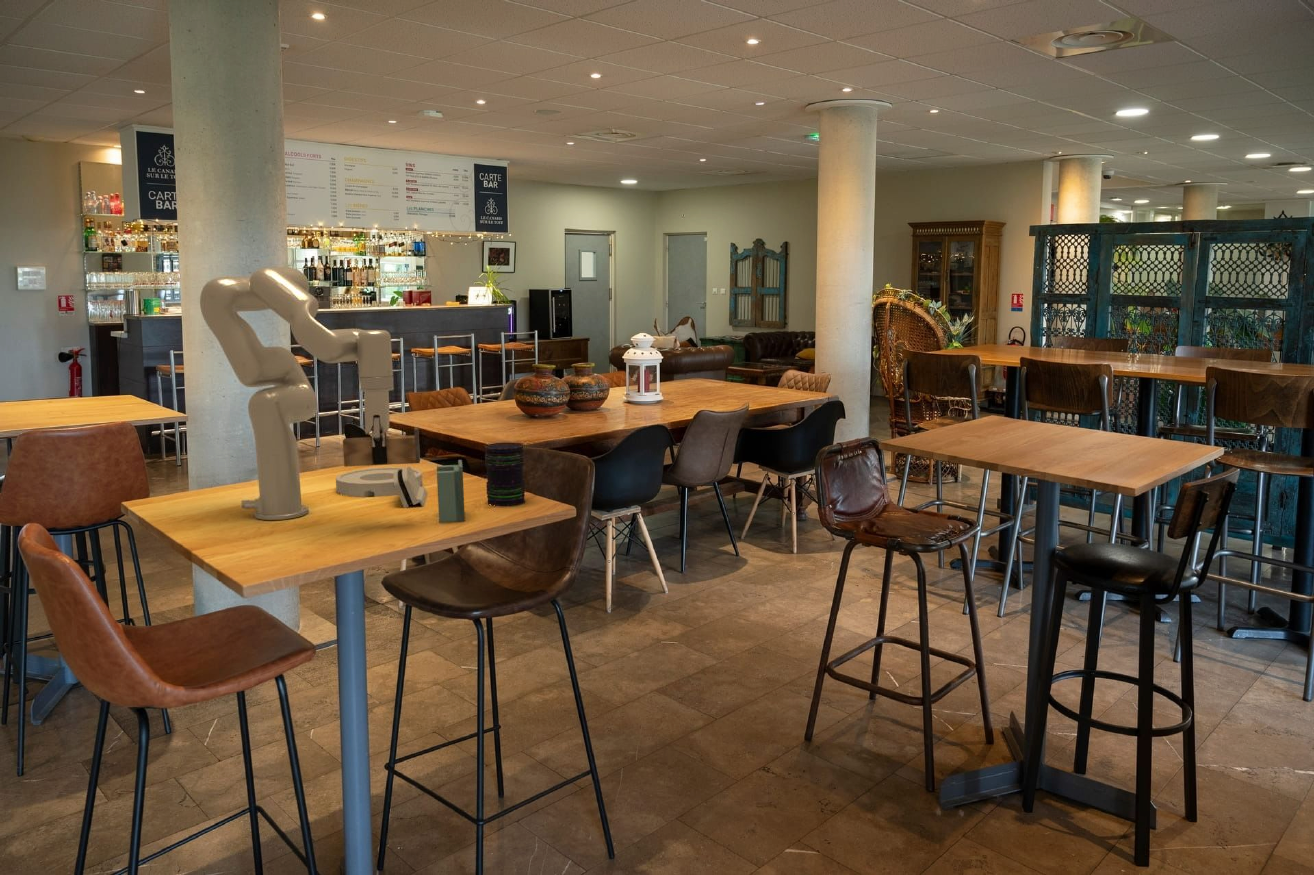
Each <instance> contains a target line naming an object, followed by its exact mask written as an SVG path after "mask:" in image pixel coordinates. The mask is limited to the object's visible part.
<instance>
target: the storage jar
mask: <svg viewBox="0 0 1314 875" xmlns="http://www.w3.org/2000/svg"><path fill="white" fill-rule="evenodd" d="M484 447H485V448H484V450H485V457H484V458H485V460H484V461H485V464H484V465H485V468H486V477H487V478H486V479H487V480H486V485H485V487H486V489H485V490H486V498H487V502H488V504H491V505H495V506H494V507H496V506H509V507H516V506H520V505H523V504H525V503H526V500H525V496H526V487H525V486H526V483H525V480H524V466H525V461H524V460H525V455H524V444H523V443H519V442H496V443H488V444H486V445H484ZM488 504H487V505H488Z"/></svg>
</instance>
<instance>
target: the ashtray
mask: <svg viewBox="0 0 1314 875" xmlns="http://www.w3.org/2000/svg"><path fill="white" fill-rule="evenodd" d="M403 468H404V467H374V468H373V467H372V468H365V469H357V470H353V471H352V470H351V471H347V472H343V473H341V474H339V475H337V476H336V477H335V488H336V489H335V490H336V493H337V492H338V493H340V494H339V495H341V494H342V495H341V496H345V495H348V496H347V497H352V496H354V498H355V497H356V498H366V497H372V496H373V497H375V498H380V497H392V496H399V495H398V492H397V490H396V488H395V485H394V479H393V476H394V472H396V471H397V470H399V469H400V470H402V469H403ZM412 470H413V472H414V475H415V477H416V479H417V481H418V483H419V485H420V486H421V487H423V484H424V483H423V472H422V471H421V470H419V469H415V468H412ZM338 493H337V494H338Z"/></svg>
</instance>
